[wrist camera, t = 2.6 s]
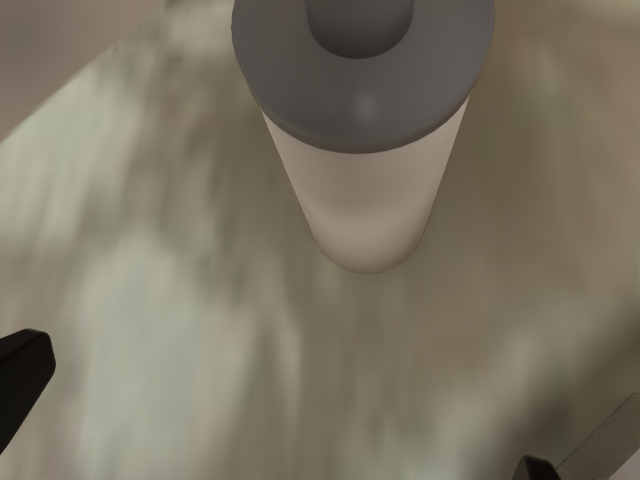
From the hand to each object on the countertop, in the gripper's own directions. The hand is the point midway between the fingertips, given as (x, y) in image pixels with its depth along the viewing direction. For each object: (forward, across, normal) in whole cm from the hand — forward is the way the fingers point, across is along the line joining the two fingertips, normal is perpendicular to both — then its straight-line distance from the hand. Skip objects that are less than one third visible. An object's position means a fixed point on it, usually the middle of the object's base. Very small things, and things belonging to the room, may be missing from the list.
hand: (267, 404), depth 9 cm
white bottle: (+15, 0, +4) cm, 16 cm away
